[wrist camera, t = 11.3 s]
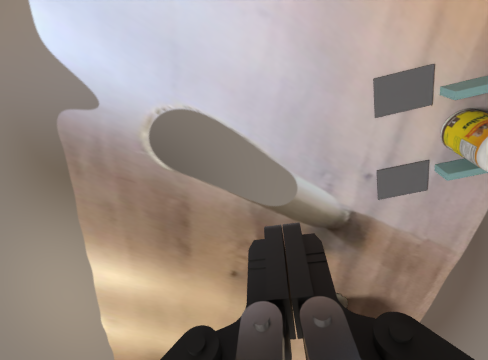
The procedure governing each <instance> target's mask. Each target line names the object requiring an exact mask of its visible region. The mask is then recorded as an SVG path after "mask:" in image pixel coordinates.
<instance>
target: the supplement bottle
mask: <svg viewBox="0 0 488 360" xmlns="http://www.w3.org/2000/svg"><path fill="white" fill-rule="evenodd" d="M440 137H441V141H442V143H443V144H444V145H445V146H446V147H448V148H449V149H451V150H452V151H454V152H455V153H457V154H459V155H460V156H462V157H464V158H465V159H467V160H468V161H470V162H472V163H473V164H475V165H476V166H478V167H480V168H481V169H483V170H485V171H487V172H488V114H487V113H485V112H482V111H479V110H476V109H465V110H461V111H459V112H457V113H455V114H453V115H452V116H451V117H449V118H448V119H447V120H446V122H445V123H444V125H443V127H442V129H441V134H440Z"/></svg>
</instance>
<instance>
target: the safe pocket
mask: <svg viewBox="0 0 488 360" xmlns="http://www.w3.org/2000/svg"><path fill="white" fill-rule="evenodd" d="M484 93H488V76H484V77H480V78H476V79H471V80H467V81H463V82H459V83H455V84H450V85H446V86H442V87H440V95H442V96H445V97H447V98H450V99H453V100H458V99H463V98H467V97H471V96H476V95H480V94H484ZM435 171H436V172H437V173H438V174H439V175H441V176H442V177H443V178H445V179H446V180H447V181H448V180H453V179H459V178H464V177H469V176H474V175H479V174H484V173H488V172H487V171H485V170H483V169H481V168H480V167H478V166H476V165H475V164H473V163H472V162H470V161H468V160H467V159H460V160H455V161H450V162H445V163H440V164H436V165H435Z"/></svg>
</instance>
